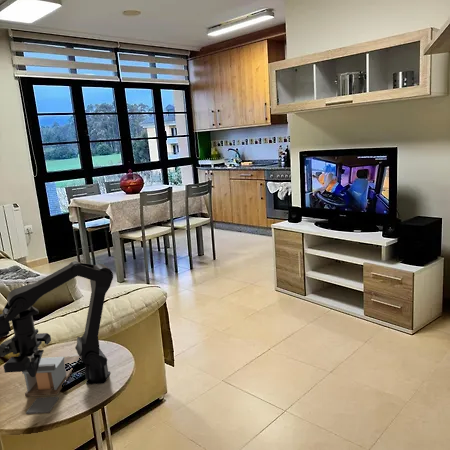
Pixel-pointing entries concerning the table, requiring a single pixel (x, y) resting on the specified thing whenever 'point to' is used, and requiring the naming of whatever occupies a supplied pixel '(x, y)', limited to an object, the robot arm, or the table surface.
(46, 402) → the mat
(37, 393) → the puzzle board
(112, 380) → the table surface
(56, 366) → the cover
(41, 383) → the block
